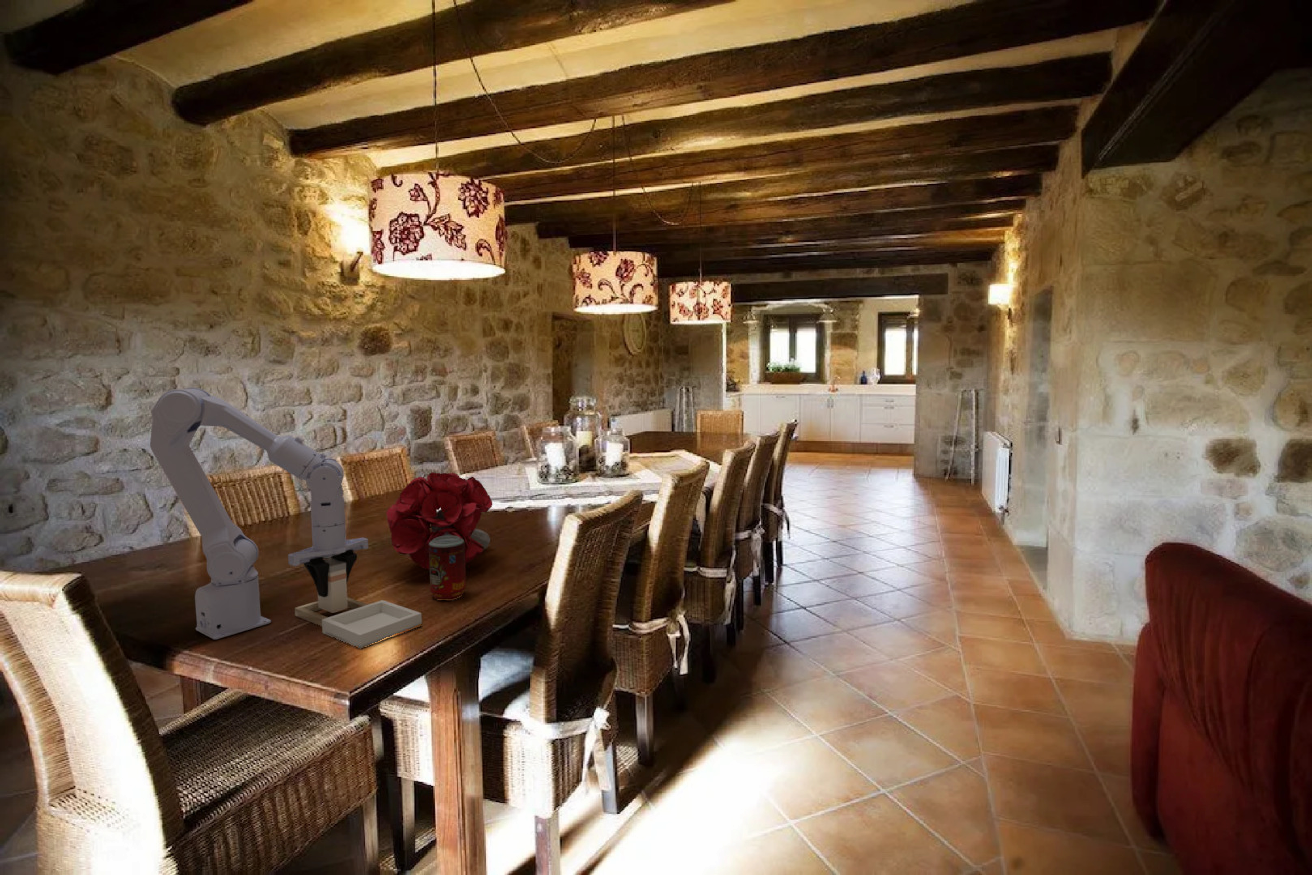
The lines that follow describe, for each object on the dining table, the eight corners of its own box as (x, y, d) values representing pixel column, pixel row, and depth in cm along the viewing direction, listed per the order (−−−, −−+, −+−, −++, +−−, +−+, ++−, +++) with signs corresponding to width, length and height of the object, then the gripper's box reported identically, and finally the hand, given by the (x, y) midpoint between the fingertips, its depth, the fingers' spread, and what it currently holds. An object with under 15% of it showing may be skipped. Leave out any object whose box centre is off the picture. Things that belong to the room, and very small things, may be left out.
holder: (326, 628, 120) (325, 620, 120) (295, 615, 126) (294, 607, 126) (371, 613, 127) (371, 605, 127) (340, 601, 133) (339, 594, 133)
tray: (360, 649, 111) (360, 635, 111) (322, 632, 118) (321, 619, 117) (421, 626, 121) (421, 613, 121) (383, 612, 128) (382, 599, 127)
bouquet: (430, 576, 170) (355, 547, 144) (459, 491, 179) (393, 448, 152) (503, 591, 163) (438, 563, 137) (530, 502, 172) (474, 459, 145)
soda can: (422, 599, 135) (420, 540, 133) (446, 588, 141) (445, 532, 140) (450, 604, 132) (448, 544, 131) (473, 593, 138) (471, 536, 137)
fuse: (332, 613, 124) (330, 566, 123) (317, 607, 127) (315, 562, 126) (348, 608, 126) (345, 562, 125) (333, 602, 129) (331, 558, 128)
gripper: (300, 534, 116) (305, 608, 118) (375, 519, 128) (378, 586, 130) (280, 529, 120) (285, 600, 122) (355, 514, 132) (358, 580, 134)
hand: (332, 593), depth 126 cm, fingers closed on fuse, 3 cm apart
